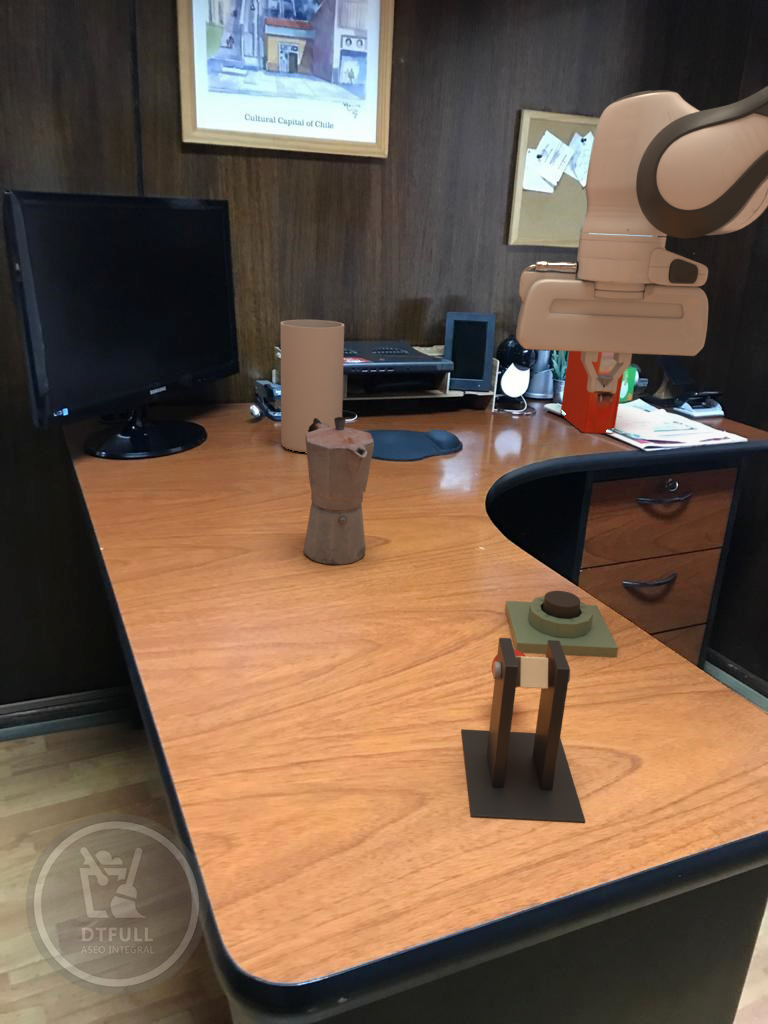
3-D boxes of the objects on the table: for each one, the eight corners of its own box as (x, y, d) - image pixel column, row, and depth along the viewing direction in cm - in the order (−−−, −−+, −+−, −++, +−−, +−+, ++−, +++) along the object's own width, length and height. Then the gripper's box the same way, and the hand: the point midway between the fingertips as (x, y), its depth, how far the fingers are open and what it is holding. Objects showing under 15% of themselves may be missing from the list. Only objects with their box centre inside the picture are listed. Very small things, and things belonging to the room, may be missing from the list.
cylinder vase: (269, 443, 161) (268, 321, 153) (318, 435, 169) (319, 318, 160) (303, 458, 153) (304, 329, 144) (353, 448, 160) (357, 326, 152)
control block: (594, 621, 94) (599, 591, 93) (615, 665, 85) (620, 633, 83) (504, 616, 94) (507, 587, 93) (515, 660, 85) (518, 628, 83)
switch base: (460, 739, 71) (471, 616, 67) (557, 744, 71) (575, 621, 67) (469, 827, 61) (483, 688, 56) (583, 833, 61) (606, 695, 56)
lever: (488, 686, 74) (489, 647, 74) (526, 688, 74) (527, 649, 74) (511, 694, 61) (512, 648, 61) (556, 697, 61) (557, 650, 61)
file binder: (590, 416, 198) (609, 286, 186) (615, 433, 182) (636, 292, 170) (560, 415, 197) (576, 285, 186) (581, 433, 181) (600, 291, 170)
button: (574, 604, 90) (576, 591, 89) (581, 621, 86) (583, 607, 86) (540, 603, 90) (541, 589, 89) (546, 619, 86) (547, 605, 86)
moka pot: (333, 579, 102) (335, 432, 95) (276, 540, 113) (275, 406, 106) (391, 564, 107) (397, 423, 100) (331, 528, 119) (333, 399, 112)
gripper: (526, 261, 80) (513, 394, 85) (724, 269, 80) (700, 401, 84) (517, 258, 86) (505, 382, 90) (701, 266, 86) (680, 390, 90)
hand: (601, 392), depth 87 cm, fingers closed
